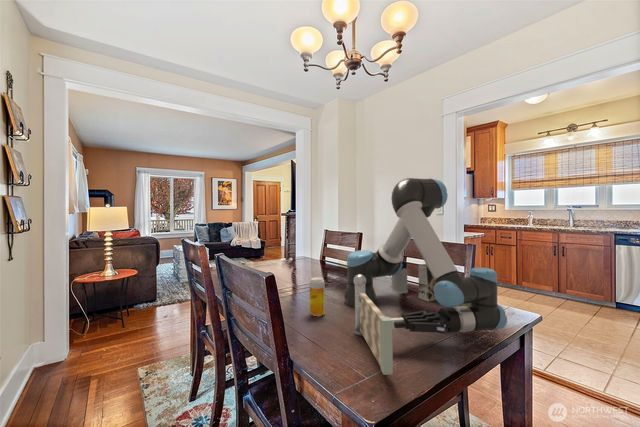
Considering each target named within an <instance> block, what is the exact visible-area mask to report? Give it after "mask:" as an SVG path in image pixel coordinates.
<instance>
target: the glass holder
mask: <svg viewBox="0 0 640 427" xmlns="http://www.w3.org/2000/svg"><path fill="white" fill-rule="evenodd" d="M402 264H403V266H402V269H401V270H400V272H399V273H397V274H395V275H392V276H389V279H390V280H391V289H390V292H391V291H392V292H391V293H393V292H394V293H393V294H401V295H402V294H403V293H404V294H407V293H409V290H408V267H407V266H408V264H407V262H406V261H404V260H403V262H402Z"/></svg>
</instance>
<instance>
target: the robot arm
mask: <svg viewBox="0 0 640 427" xmlns="http://www.w3.org/2000/svg"><path fill="white" fill-rule="evenodd" d="M448 195H449V194H448V189H447V187H446V185H445V184H444V182H443V181H441V180H440V179H434V178H414V177H406V178H404V179H401V180H400V181H398V182H397V184H395V186H393V190H392V192H391V205H392V208H393V211H394V212H395V215H396V217H397V218H399V219H398V220H397V222H396V224H395V225H394V227H393V228H392V230H391V232H390V234H389V235H388V237H387V239H386V241H385V243H383V244H381V245H379V247H378V249H377V251H375V252H373V251H371V250H368V249H364V250H361V249H360V250H355V251H352V252H350V253H348V255H347V257H346V258H347V260H346V265H347V266H346V269H347V273H346V274H347V286H346V290H345V292H344V295H343V296H344V297H343V300H344V301H343V303H344V302H345V303H346V304H345V303H344V304H345V305H347V306H350V307H354V308H355V284H354V277H355V276H356V275H358V274H361V275H363V276H365V278H366V284H365V294H366V295H367V296H368V297H369V299H370V300H371V301H372V302H373V303H374V304H375V306H377V304H378V297H377V294H376V290H375V288H374V279H376V278H383V277H390V276H391V277H392V275H395V274H397V273H399V272H400V270H401V269H402V266H403V264H402V262H403V261H404V260H403V255H402V253H403V252H404V250H405V249H406V247H407V246H408V244H409V242H410V241H411V239H412V240H413V243H414V244H415V246H416V247H417V249H418V251H419V254H420V255H421V257H422V259H423V261H424V264H426V265H427V267H428V268H429V270H430V272H431V274H432V276H433V278H434V280H435V282H436V285H435V286H434V296H435V299H436V300H435V301H436V302H437V304H439V305H440V306H442V307H441V308H439V310H438V312H435V311H434V312H427V310H426V309H422V310H420V311H414V312H408V313H402V314H401V316H400V317H389V318H390V319H391V320H392V330H397V329H398V330H399V329H405V330H409V332H416V333H436V334H437V333H438V334H445V333H446V334H453V333H455V334H456V333H458V332H459V333H464V334H465V333H466V332H467V333H468V332H480V331H494V330H495V331H497V330H501V329H505V327H506V326H507V323H508V317H507V315H506V311H505V309H504V308H503V307H502V306H501V305H499V304H498V284H499V283H498V274H497V272H496V270H494V269H492V268H488V267H473V268H471V269H470V271H469V276H465V277H462V275H461V273H460V272H459V271H458V269H457V267H456V265H455V263H454V262H453V260H452V258H451V256H450V255H449V253H448V252H447V250H446V248H445V246H444V245H443V243H442V241H441V240H440V238H439V236H438V235H437V233H436V231H435V229H434V228H433V226H432V224H431V222H430V221H429V219H428V218H430V217H431V215H433V214H432V213H433V212H434V211H435V210H436V209H440V208H442V207H444V206H445V205H446V204H447V200H448ZM466 303H471V306H462V304H466Z"/></svg>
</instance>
